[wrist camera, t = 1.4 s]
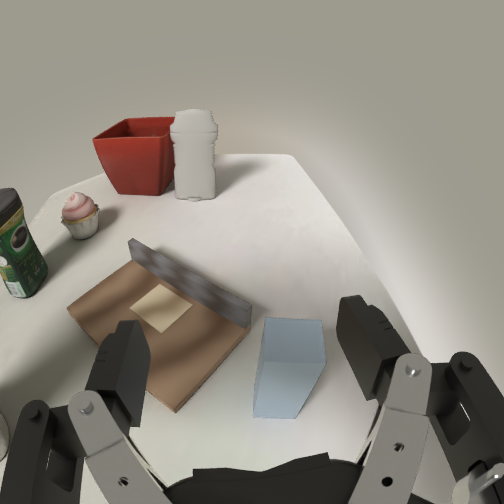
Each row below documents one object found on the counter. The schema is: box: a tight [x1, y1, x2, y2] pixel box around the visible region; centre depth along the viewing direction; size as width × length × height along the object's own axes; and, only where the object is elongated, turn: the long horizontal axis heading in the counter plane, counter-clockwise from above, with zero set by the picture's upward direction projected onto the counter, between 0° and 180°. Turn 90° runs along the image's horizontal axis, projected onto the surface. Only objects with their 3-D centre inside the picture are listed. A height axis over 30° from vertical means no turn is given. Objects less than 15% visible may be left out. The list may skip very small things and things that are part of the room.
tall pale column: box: [170, 109, 218, 201], centre depth 63 cm, size 11×4×22 cm, turn 92°
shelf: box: [67, 238, 252, 413], centre depth 39 cm, size 24×17×6 cm
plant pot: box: [93, 117, 176, 196], centre depth 69 cm, size 19×19×17 cm
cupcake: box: [61, 192, 100, 240], centre depth 54 cm, size 9×9×10 cm
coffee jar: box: [0, 188, 48, 298], centre depth 38 cm, size 10×8×19 cm
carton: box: [253, 317, 326, 419], centre depth 28 cm, size 5×4×14 cm
